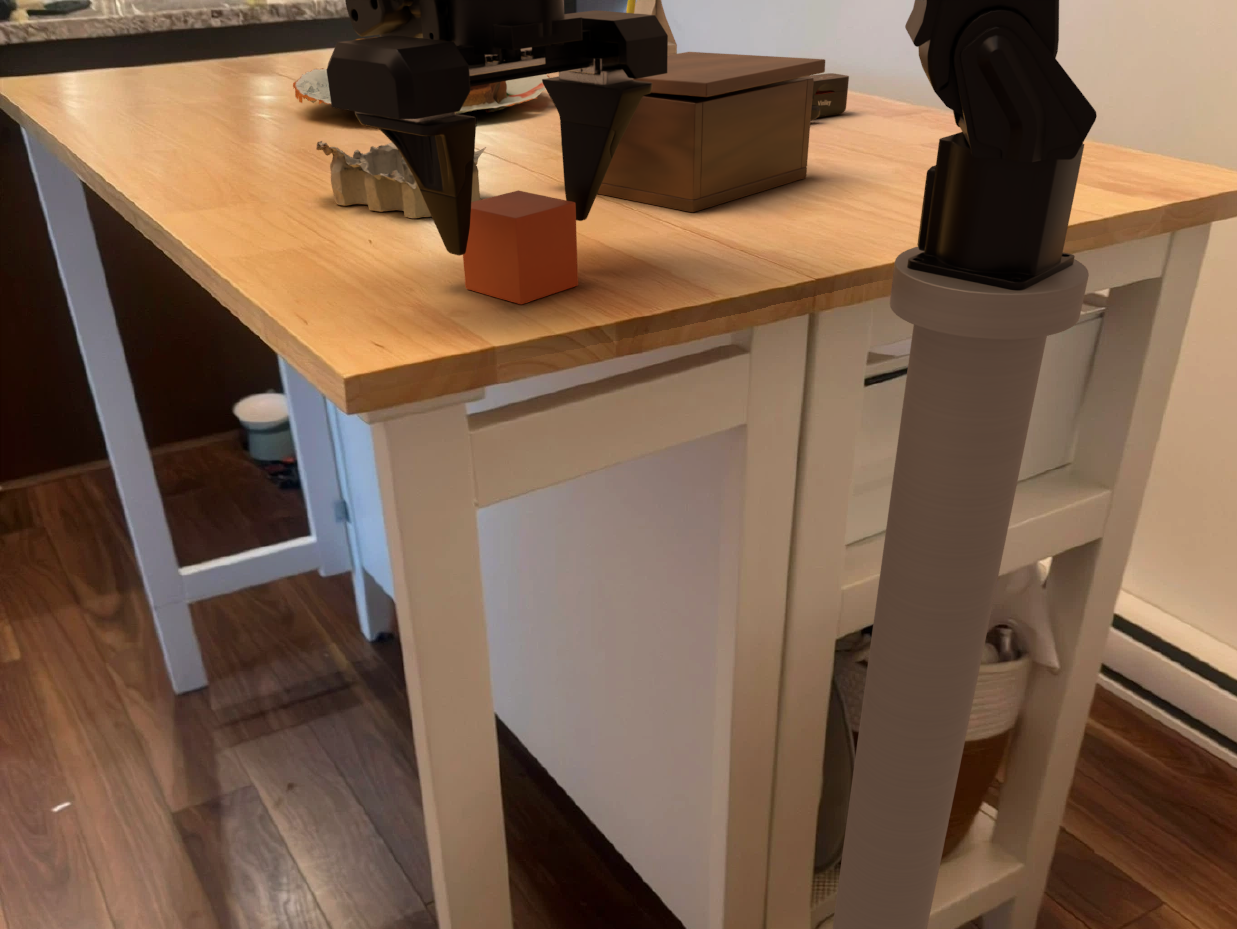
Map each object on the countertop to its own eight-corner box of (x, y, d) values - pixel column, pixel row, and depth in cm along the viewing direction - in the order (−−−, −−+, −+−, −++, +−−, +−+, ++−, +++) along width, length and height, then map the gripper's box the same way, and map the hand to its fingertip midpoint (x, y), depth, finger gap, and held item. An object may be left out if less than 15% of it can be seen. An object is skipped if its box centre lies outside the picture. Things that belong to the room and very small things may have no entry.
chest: (806, 178, 86) (814, 77, 82) (692, 212, 78) (695, 103, 74) (686, 158, 92) (688, 64, 89) (570, 188, 84) (566, 86, 80)
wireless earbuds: (771, 118, 107) (773, 80, 105) (828, 110, 110) (831, 72, 108) (804, 125, 103) (806, 86, 102) (862, 117, 107) (866, 78, 105)
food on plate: (551, 84, 125) (548, 16, 122) (556, 127, 105) (553, 46, 101) (317, 89, 124) (307, 20, 120) (276, 133, 104) (262, 52, 100)
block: (578, 285, 64) (575, 202, 62) (520, 305, 62) (515, 218, 59) (523, 271, 67) (518, 190, 64) (465, 288, 64) (457, 205, 62)
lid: (825, 72, 81) (825, 59, 81) (706, 97, 73) (706, 82, 73) (688, 64, 89) (688, 51, 88) (566, 85, 80) (565, 72, 80)
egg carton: (317, 203, 82) (307, 141, 79) (394, 183, 87) (387, 124, 84) (422, 223, 76) (415, 157, 74) (498, 201, 81) (494, 139, 79)
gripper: (523, -109, 64) (537, 185, 73) (231, -101, 53) (290, 246, 61) (676, -110, 58) (671, 212, 67) (383, -100, 46) (425, 286, 55)
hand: (519, 235), depth 63 cm, fingers open, 9 cm apart
